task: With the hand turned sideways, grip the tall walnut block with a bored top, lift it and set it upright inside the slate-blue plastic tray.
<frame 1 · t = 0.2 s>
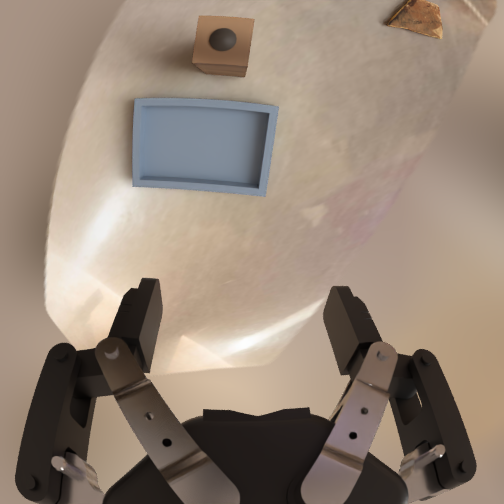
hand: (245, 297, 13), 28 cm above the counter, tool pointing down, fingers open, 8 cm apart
walnut block: (228, 58, 30), on the counter
slate tray: (203, 142, 36), on the counter
shard: (417, 24, 26), on the counter
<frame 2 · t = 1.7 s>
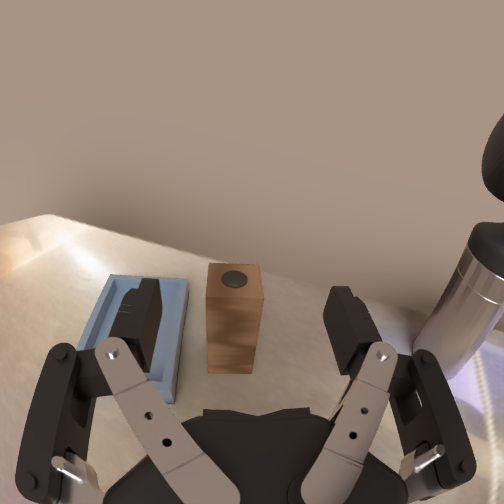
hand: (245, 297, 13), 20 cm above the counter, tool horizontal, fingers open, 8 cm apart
walnut block: (229, 356, 33), on the counter
slate tray: (136, 337, 33), on the counter
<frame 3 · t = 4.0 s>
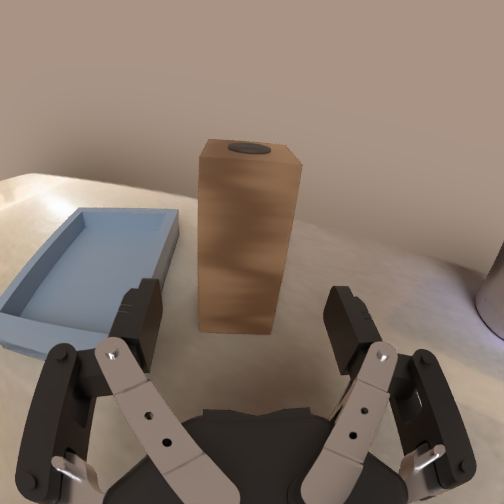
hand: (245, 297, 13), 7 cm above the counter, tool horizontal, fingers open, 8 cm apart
walnut block: (234, 309, 22), on the counter
slate tray: (98, 282, 22), on the counter
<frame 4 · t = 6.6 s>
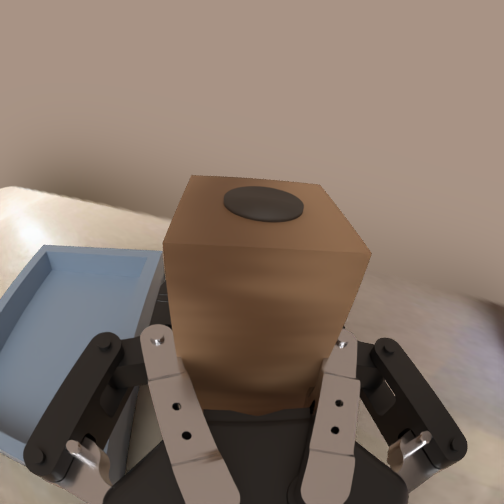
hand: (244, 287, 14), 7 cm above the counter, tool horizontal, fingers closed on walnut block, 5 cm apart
walnut block: (238, 401, 15), on the counter, touching gripper
slate tray: (64, 354, 15), on the counter
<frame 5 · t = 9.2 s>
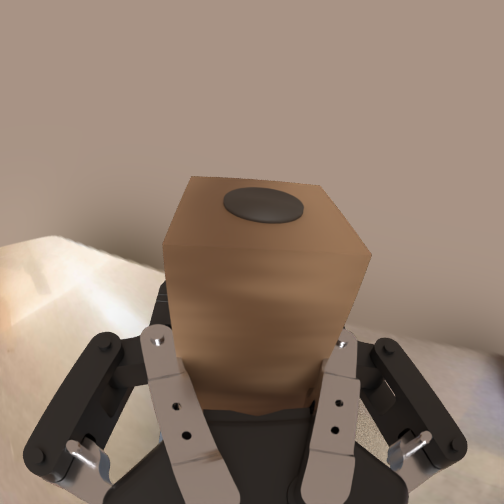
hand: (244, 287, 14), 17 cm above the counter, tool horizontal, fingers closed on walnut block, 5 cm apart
walnut block: (238, 402, 15), point 11 cm above the counter, touching gripper
when the fingers open (9 cm above the counter, at t = 11.8 s): walnut block drops 1 cm, resting on slate tray.
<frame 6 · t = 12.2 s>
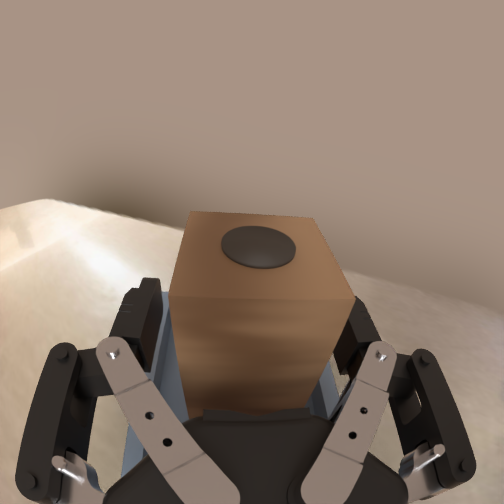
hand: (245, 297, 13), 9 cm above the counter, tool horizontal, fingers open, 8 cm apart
walnut block: (237, 412, 16), point 1 cm above the counter, touching slate tray
slate tray: (235, 417, 16), on the counter
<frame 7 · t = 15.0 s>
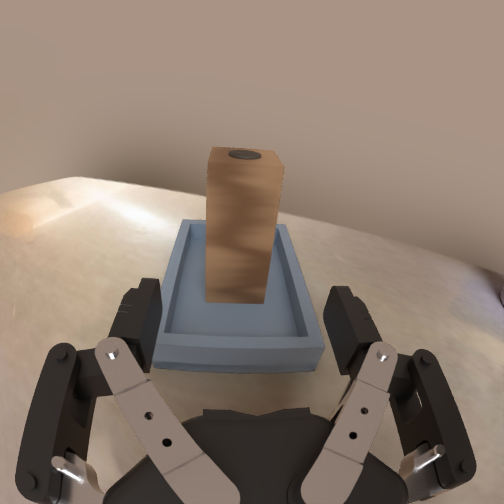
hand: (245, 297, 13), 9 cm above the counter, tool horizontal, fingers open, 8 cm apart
walnut block: (234, 285, 26), point 1 cm above the counter, touching slate tray
slate tray: (233, 293, 27), on the counter
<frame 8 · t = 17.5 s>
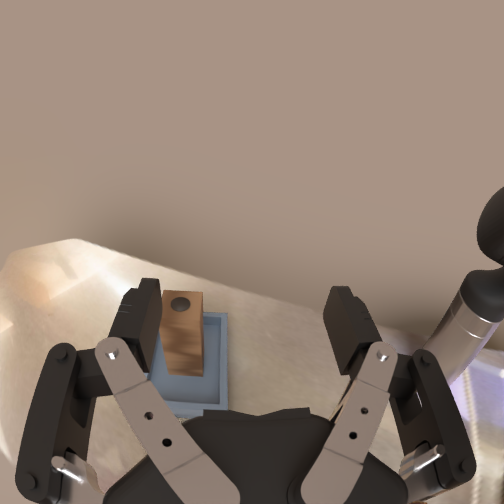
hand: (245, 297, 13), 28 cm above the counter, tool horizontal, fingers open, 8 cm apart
walnut block: (186, 362, 39), point 1 cm above the counter, touching slate tray
slate tray: (187, 365, 40), on the counter
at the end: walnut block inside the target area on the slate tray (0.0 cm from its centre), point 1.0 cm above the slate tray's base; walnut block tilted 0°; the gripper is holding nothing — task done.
